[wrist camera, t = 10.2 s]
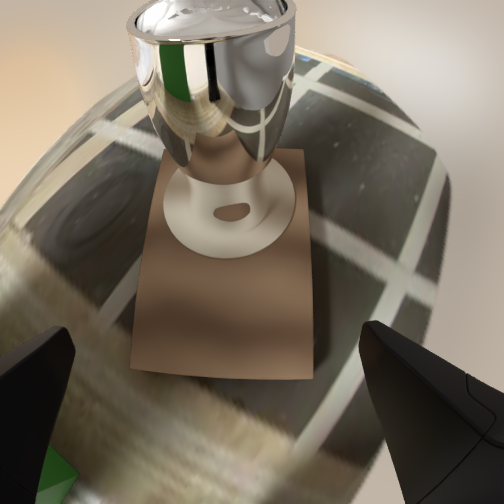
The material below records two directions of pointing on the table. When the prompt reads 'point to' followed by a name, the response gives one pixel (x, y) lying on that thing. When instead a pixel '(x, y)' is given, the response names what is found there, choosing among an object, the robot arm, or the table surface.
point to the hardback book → (55, 479)
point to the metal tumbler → (218, 97)
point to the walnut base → (227, 285)
